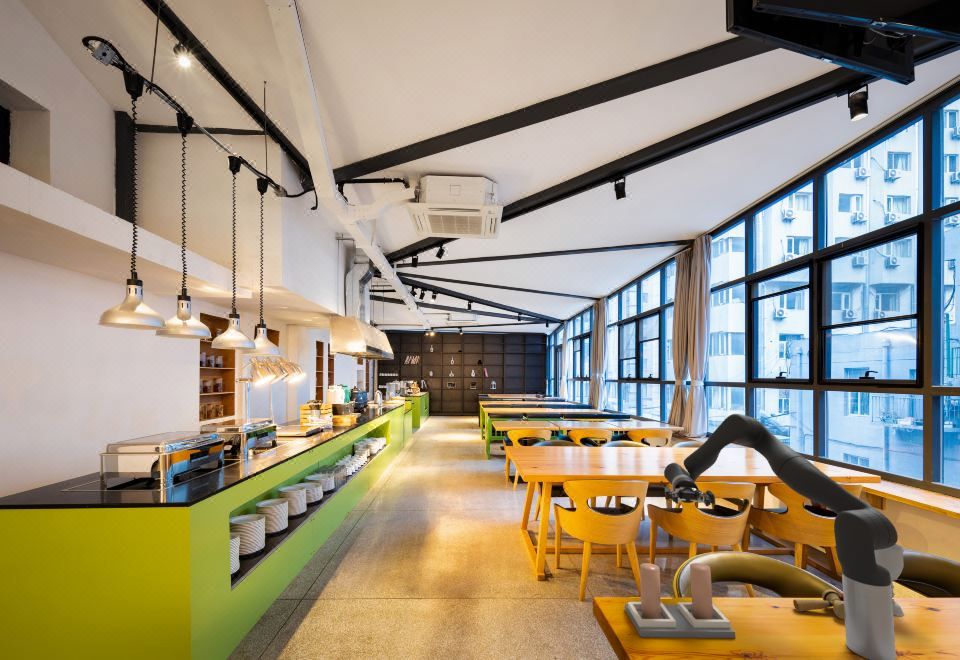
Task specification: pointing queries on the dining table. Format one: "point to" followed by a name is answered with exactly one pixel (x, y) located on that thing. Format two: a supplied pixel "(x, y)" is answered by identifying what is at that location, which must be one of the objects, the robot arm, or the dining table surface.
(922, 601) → the dining table surface
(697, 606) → the post
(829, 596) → the kendama
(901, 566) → the chalice
